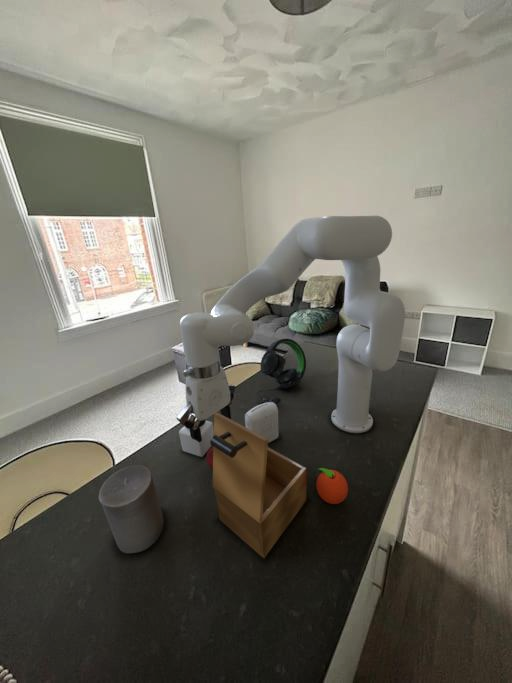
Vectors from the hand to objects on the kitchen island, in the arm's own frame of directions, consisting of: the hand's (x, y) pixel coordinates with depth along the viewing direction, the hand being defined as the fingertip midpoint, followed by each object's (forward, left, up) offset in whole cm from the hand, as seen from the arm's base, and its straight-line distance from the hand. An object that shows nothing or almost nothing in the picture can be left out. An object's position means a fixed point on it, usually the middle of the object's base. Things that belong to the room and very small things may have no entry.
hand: (212, 428), depth 69 cm
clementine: (-10, +27, -13) cm, 32 cm away
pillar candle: (+22, -1, -13) cm, 26 cm away
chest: (+2, +17, -13) cm, 22 cm away
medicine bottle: (-2, -11, -13) cm, 17 cm away
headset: (-42, -8, -13) cm, 45 cm away
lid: (+8, +17, +5) cm, 19 cm away
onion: (0, 0, -13) cm, 13 cm away
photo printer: (-15, +3, -13) cm, 21 cm away
